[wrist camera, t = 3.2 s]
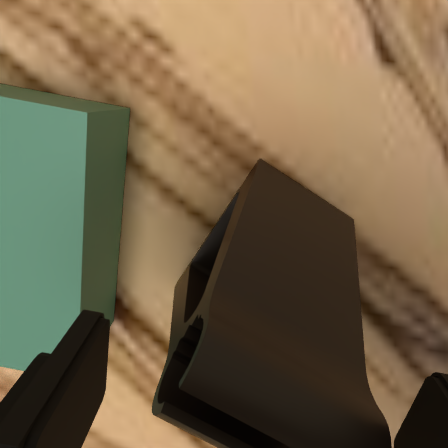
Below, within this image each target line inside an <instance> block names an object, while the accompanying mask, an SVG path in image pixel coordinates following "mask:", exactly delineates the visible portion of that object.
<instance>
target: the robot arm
mask: <svg viewBox="0 0 448 448" xmlns="http://www.w3.org/2000/svg"><path fill="white" fill-rule="evenodd" d="M109 330H110V320H109V319H105V318H104V313H102V312H96V311H90V310H85V309H84V310H82V312H81V313H80V314H79V316H78V317H77V318H76V320H75V321H74V322H73V324H72V325H71V327H70V328H69V329H68V331H67V332H66V334H65V335H64V336H63V338H62V339H61V341H60V342H59V343H58V345H57V346H56V347H55V349H54V350H53V352H52V353H51V354H50V353H45V352H41V353H40V354H38V355H37V356H36V357H35V358H34V359H33V361H32V362H31V363H30V365H29V366H28V367H27V369H26V370H25V371H24V372H23V374H22V375H21V376H20V378H19V379H18V380H17V382H16V383H15V384H14V385H13V387H12V388H11V389H10V391H9V392H8V393H7V395H6V396H5V397H4V398H3V400H2V401H1V402H0V448H81V447H82V445H83V443H84V441H85V438H86V436H87V434H88V432H89V429H90V427H91V425H92V423H93V421H94V418H95V416H96V414H97V412H98V409H99V407H100V405H101V403H102V400H103V397H104V394H105V390H106V377H107V361H108V346H109ZM394 448H448V374H444V373H438V372H435V373H433V374H432V375H431V376H428V377H427V378H426V379H425V381H424V383H423V385H422V386H421V388H420V390H419V392H418V394H417V396H416V398H415V400H414V402H413V404H412V406H411V408H410V410H409V412H408V414H407V416H406V418H405V419H404V421H403V423H402V425H401V427H400V429H399V431H398V433H397V435H396V437H395V440H394Z"/></svg>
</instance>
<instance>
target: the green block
mask: <svg viewBox="0 0 448 448" xmlns="http://www.w3.org/2000/svg"><path fill="white" fill-rule="evenodd" d="M129 117H130V108H127V107H121V106H116V105H111V104H106V103H100V102H95V101H90V100H84V99H79V98H74V97H69V96H63V95H58V94H53V93H47V92H42V91H37V90H32V89H26V88H21V87H16V86H10V85H5V84H0V366H1V367H6V368H11V369H17V370H22V371H25V370H26V369H27V367H28V366H29V365H30V363H31V362H32V361H33V359H34V358H35V357H36V356H37V355H38V354H40V353H41V352H45V353H50V354H51V353H52V352H53V350H54V349H55V347H56V346H57V345H58V343H59V342H60V341H61V339H62V338H63V336H64V335H65V334H66V332H67V331H68V329H69V328H70V327H71V325H72V324H73V322H74V321H75V320H76V318H77V317H78V316H79V314H80V313H81V312H82V310H84V309H85V310H90V311H96V312H102V313H104V318H105V319H109V320H110V326H111V324H112V323H113V321H114V310H115V297H116V284H117V271H118V259H119V246H120V233H121V220H122V207H123V194H124V181H125V168H126V155H127V142H128V130H129Z"/></svg>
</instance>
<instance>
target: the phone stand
mask: <svg viewBox="0 0 448 448" xmlns="http://www.w3.org/2000/svg"><path fill="white" fill-rule="evenodd" d="M152 413H153V415H155V416H157V417H159V418H161V419H163V420H164V421H166V422H168V423H170V424H172V425H174V426H176V427H178V428H180V429H182V430H184V431H186V432H188V433H190V434H192V435H194V436H196V437H198V438H200V439H202V440H204V441H206V442H208V443H210V444H212V445H214V446H215V447H217V448H392V447H391V436H390V431H389V427H388V424H387V422H386V419H385V417H384V415H383V414H382V412H381V411H380V409H379V407H378V406H377V404H376V402H375V400H374V398H373V396H372V393H371V391H370V388H369V384H368V380H367V375H366V366H365V354H364V341H363V328H362V316H361V303H360V290H359V278H358V265H357V252H356V240H355V227H354V219H352V218H351V217H349V216H347V215H346V214H344V213H343V212H341V211H340V210H338V209H337V208H335V207H334V206H332V205H331V204H329V203H327V202H326V201H324V200H323V199H321V198H320V197H318V196H317V195H315V194H314V193H312V192H310V191H309V190H307V189H306V188H304V187H303V186H301V185H300V184H298V183H297V182H295V181H293V180H292V179H290V178H289V177H287V176H286V175H284V174H283V173H281V172H280V171H278V170H276V169H275V168H273V167H272V166H270V165H269V164H267V163H266V162H264V161H263V160H261V159H259V160H258V161H257V163H256V164H255V166H254V167H253V169H252V170H251V172H250V173H249V175H248V176H247V178H246V179H245V181H244V182H243V184H242V185H241V187H240V188H239V190H238V191H237V193H236V194H235V196H234V197H233V199H232V201H231V202H230V204H229V205H228V207H227V208H226V210H225V211H224V213H223V214H222V216H221V217H220V219H219V220H218V222H217V223H216V225H215V227H214V228H213V229H212V231H211V232H210V234H209V235H208V237H207V238H206V240H205V241H204V243H203V244H202V246H201V247H200V249H199V250H198V252H197V253H196V255H195V256H194V258H193V259H192V261H191V262H190V264H189V265H188V267H187V268H186V270H185V271H184V273H183V274H182V276H181V277H180V279H179V280H178V282H177V284H176V286H175V290H174V301H173V311H172V322H171V333H170V343H169V351H168V356H167V360H166V363H165V366H164V369H163V372H162V375H161V378H160V381H159V384H158V386H157V389H156V392H155V396H154V400H153V404H152Z"/></svg>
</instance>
